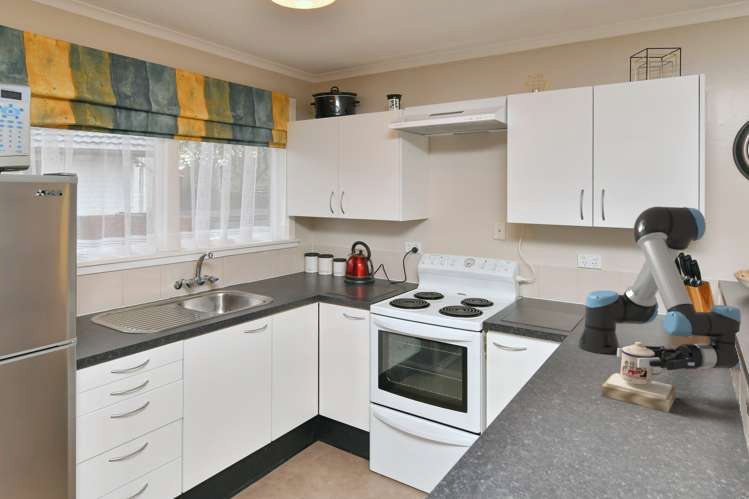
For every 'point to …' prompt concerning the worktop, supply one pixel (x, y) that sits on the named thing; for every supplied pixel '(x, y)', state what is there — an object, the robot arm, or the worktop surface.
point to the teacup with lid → (630, 364)
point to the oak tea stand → (640, 393)
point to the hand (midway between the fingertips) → (627, 357)
